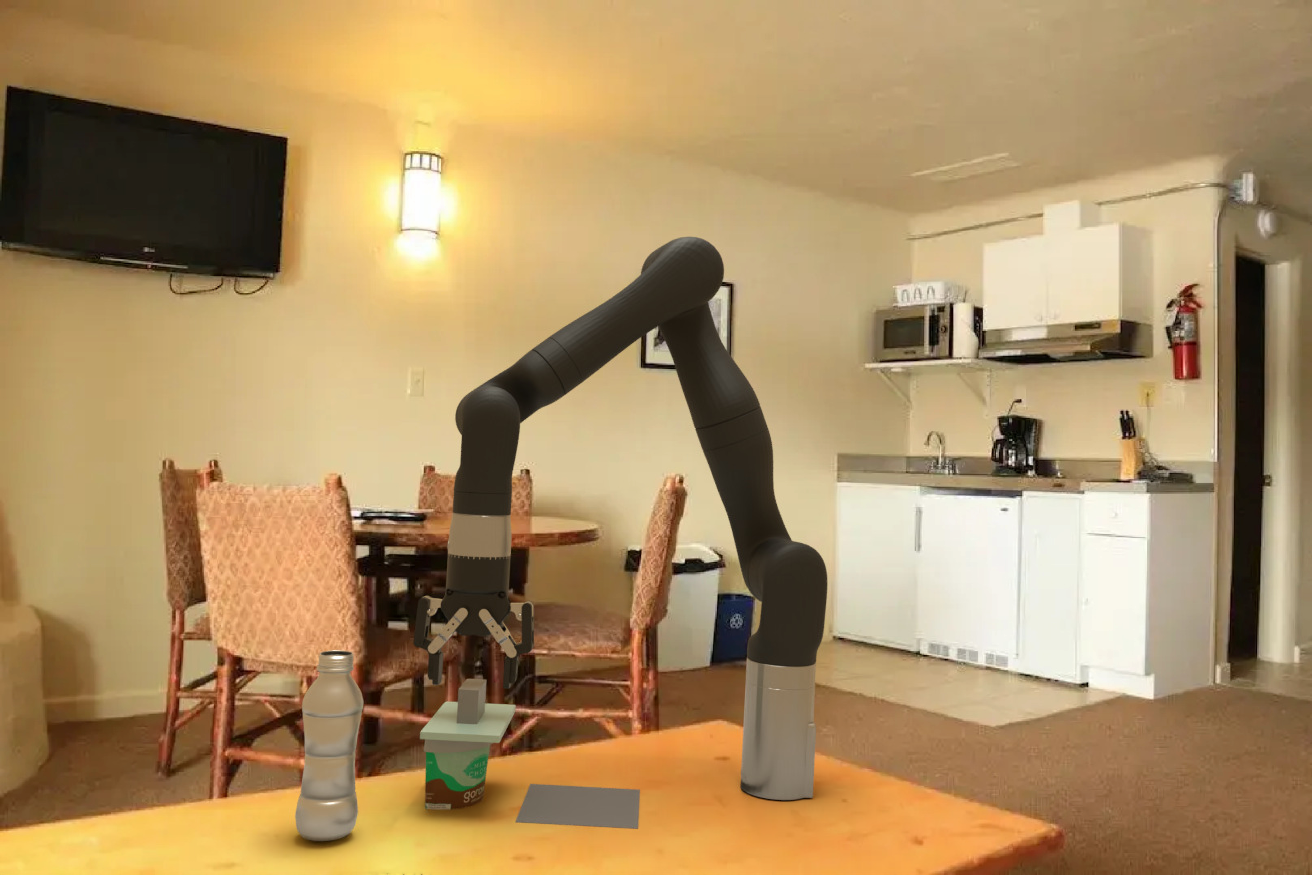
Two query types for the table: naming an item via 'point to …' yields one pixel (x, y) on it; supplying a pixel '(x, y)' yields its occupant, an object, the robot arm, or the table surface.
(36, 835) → the table surface
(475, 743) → the food container
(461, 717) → the lid
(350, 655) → the plastic bottle
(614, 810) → the rubber mat
